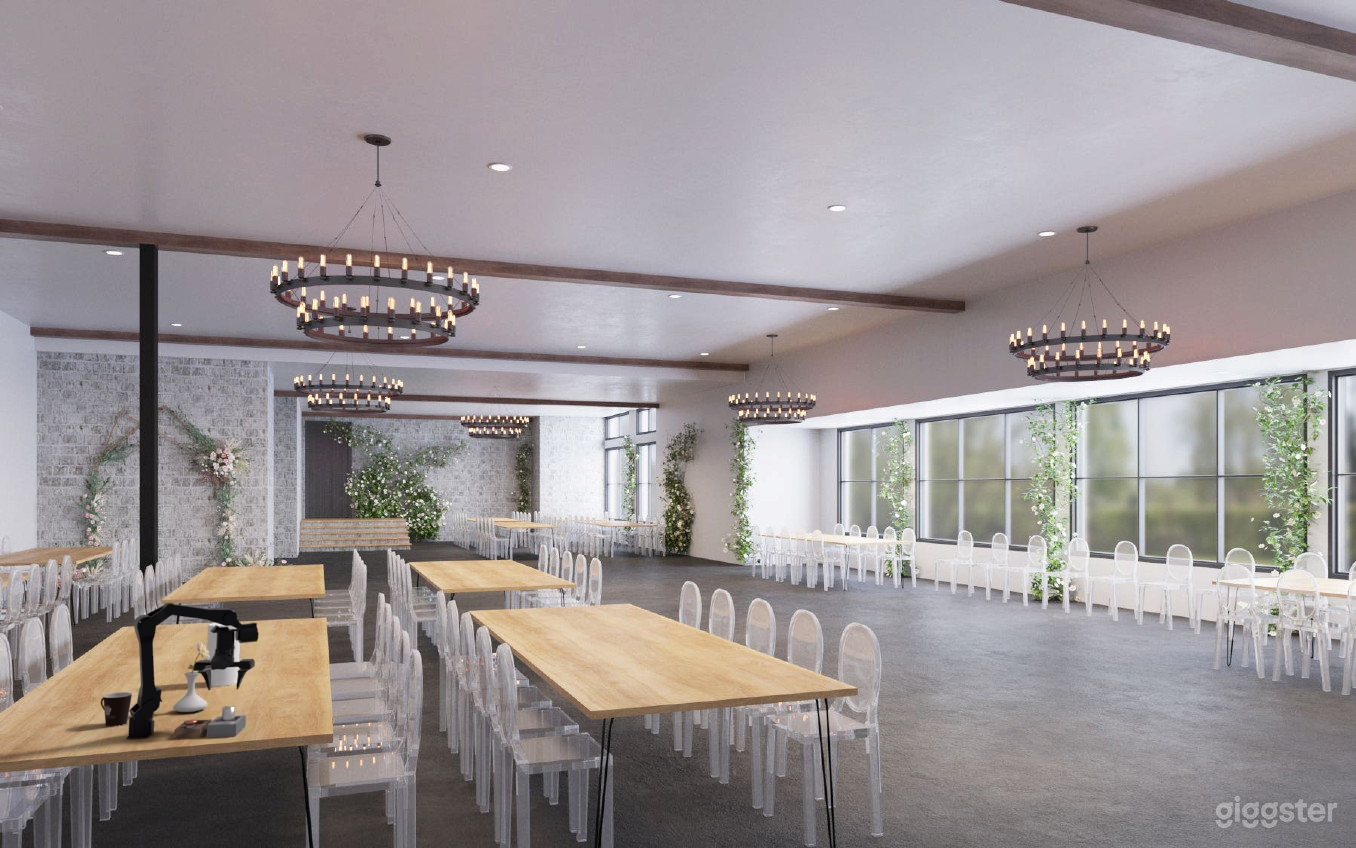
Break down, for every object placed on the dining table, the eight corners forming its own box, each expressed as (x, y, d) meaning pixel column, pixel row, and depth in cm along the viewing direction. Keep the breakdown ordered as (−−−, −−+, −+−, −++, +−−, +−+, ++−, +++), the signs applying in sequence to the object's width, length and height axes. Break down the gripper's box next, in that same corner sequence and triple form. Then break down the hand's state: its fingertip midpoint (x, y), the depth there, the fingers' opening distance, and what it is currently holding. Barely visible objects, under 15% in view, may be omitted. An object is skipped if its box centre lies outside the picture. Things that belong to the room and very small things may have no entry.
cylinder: (233, 679, 400) (236, 621, 401) (241, 684, 390) (244, 624, 392) (202, 683, 392) (204, 623, 393) (209, 688, 382) (212, 626, 384)
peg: (219, 732, 312) (220, 708, 313) (223, 729, 316) (224, 706, 317) (232, 732, 313) (233, 708, 314) (235, 729, 317) (236, 705, 318)
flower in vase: (192, 715, 336) (195, 645, 338) (165, 713, 338) (168, 644, 340) (217, 707, 349) (220, 640, 350) (191, 705, 351) (193, 639, 353)
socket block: (174, 738, 305) (174, 729, 305) (186, 729, 316) (186, 720, 316) (200, 737, 306) (200, 728, 306) (211, 728, 318) (211, 719, 318)
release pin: (181, 735, 306) (181, 722, 306) (185, 732, 309) (185, 719, 310) (194, 734, 306) (194, 722, 307) (198, 731, 310) (198, 719, 311)
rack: (206, 737, 306) (207, 725, 307) (217, 728, 318) (218, 716, 318) (235, 736, 308) (236, 724, 308) (245, 727, 320) (246, 715, 320)
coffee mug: (133, 724, 323) (134, 695, 323) (105, 728, 317) (106, 699, 317) (125, 718, 331) (126, 690, 332) (97, 722, 325) (98, 693, 326)
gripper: (189, 649, 315) (187, 695, 314) (247, 647, 319) (245, 694, 318) (199, 643, 326) (197, 688, 325) (255, 642, 330) (254, 687, 328)
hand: (223, 689), depth 324 cm, fingers open, 9 cm apart
